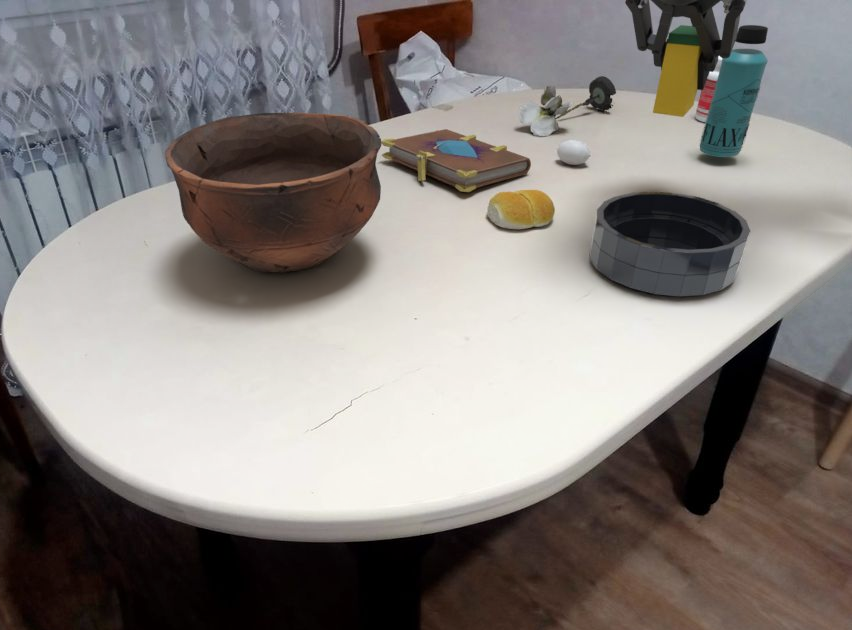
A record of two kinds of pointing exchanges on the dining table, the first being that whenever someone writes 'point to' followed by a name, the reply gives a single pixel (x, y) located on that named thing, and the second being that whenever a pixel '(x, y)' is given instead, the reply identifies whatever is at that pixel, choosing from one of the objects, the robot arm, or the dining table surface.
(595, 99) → the artificial flower
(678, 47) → the sponge
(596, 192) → the dining table surface
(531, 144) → the dining table surface
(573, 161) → the egg
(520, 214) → the bread roll
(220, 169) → the bowl
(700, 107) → the pill bottle
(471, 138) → the book
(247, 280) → the dining table surface
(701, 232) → the wash bowl
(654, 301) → the dining table surface
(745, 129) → the beverage bottle
